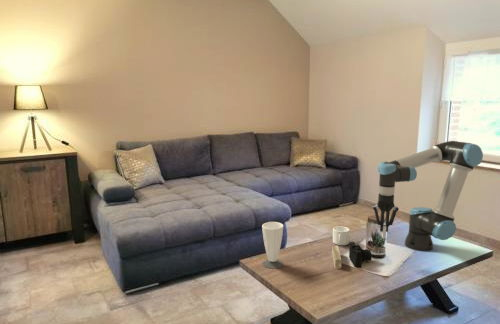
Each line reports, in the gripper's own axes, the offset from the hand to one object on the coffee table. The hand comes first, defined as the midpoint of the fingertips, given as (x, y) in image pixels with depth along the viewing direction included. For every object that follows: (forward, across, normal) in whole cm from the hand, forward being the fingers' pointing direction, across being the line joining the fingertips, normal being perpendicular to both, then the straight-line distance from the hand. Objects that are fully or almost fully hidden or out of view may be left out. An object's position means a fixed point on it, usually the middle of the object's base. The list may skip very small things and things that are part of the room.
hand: (383, 237), depth 196 cm
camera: (+15, +11, 0) cm, 19 cm away
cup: (+15, +58, +7) cm, 60 cm away
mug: (+15, +19, -24) cm, 34 cm away
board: (+15, +24, 0) cm, 28 cm away
